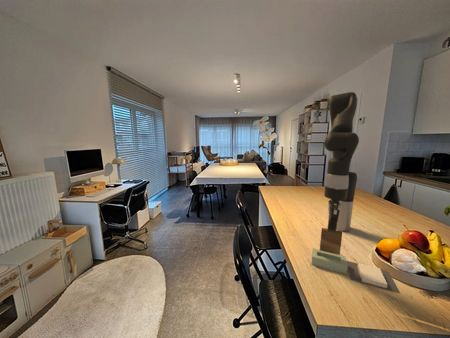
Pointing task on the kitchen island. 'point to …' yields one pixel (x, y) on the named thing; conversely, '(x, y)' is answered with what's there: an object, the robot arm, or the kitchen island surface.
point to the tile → (372, 275)
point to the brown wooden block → (330, 240)
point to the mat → (356, 277)
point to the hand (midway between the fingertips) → (331, 228)
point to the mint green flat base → (329, 261)
